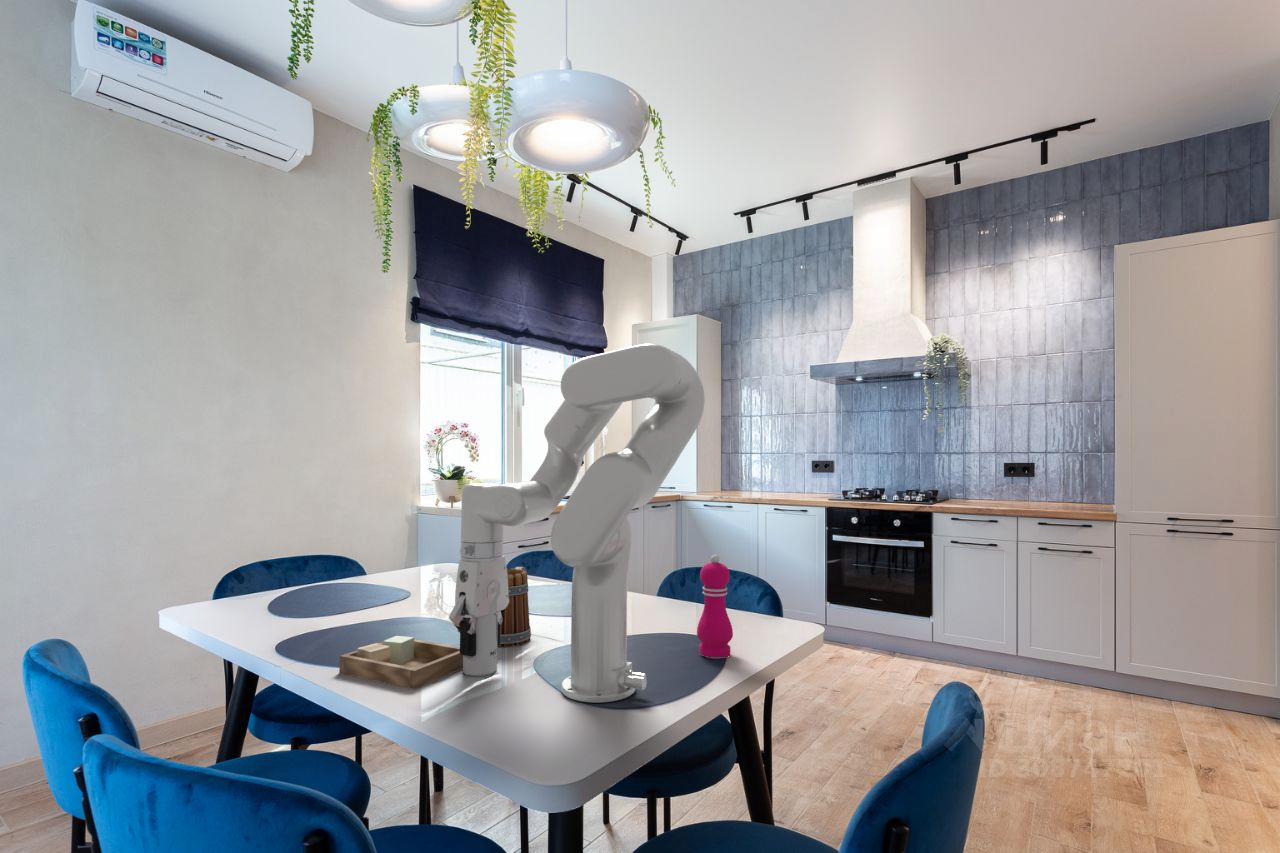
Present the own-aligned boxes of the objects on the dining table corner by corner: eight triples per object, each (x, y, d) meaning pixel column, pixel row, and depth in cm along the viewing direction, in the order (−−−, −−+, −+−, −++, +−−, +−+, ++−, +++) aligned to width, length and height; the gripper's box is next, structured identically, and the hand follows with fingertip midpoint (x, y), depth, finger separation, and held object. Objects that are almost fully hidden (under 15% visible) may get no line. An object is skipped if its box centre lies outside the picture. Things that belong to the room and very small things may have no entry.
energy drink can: (499, 678, 119) (500, 593, 119) (464, 682, 116) (466, 596, 117) (494, 668, 124) (495, 587, 125) (460, 671, 122) (462, 589, 123)
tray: (470, 668, 124) (470, 648, 124) (414, 692, 111) (414, 670, 111) (398, 655, 132) (399, 636, 132) (339, 676, 119) (339, 655, 119)
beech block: (389, 668, 121) (390, 646, 122) (370, 674, 118) (370, 652, 118) (376, 664, 124) (376, 643, 124) (356, 670, 120) (357, 648, 121)
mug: (519, 652, 134) (520, 577, 135) (471, 648, 136) (472, 575, 137) (546, 631, 150) (546, 565, 150) (502, 629, 152) (503, 563, 152)
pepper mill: (715, 662, 128) (715, 558, 129) (689, 653, 134) (689, 554, 135) (740, 655, 133) (740, 555, 134) (714, 647, 138) (714, 551, 139)
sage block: (413, 658, 128) (414, 637, 128) (400, 664, 124) (401, 642, 124) (395, 656, 129) (396, 635, 129) (382, 662, 125) (383, 641, 125)
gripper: (466, 558, 112) (464, 666, 111) (526, 546, 127) (525, 641, 127) (432, 555, 115) (430, 660, 114) (495, 543, 131) (493, 636, 130)
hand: (480, 649), depth 120 cm, fingers closed on energy drink can, 6 cm apart
